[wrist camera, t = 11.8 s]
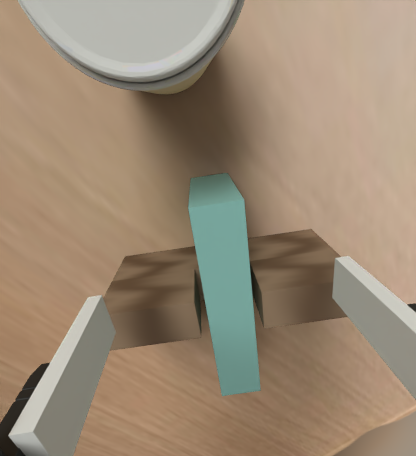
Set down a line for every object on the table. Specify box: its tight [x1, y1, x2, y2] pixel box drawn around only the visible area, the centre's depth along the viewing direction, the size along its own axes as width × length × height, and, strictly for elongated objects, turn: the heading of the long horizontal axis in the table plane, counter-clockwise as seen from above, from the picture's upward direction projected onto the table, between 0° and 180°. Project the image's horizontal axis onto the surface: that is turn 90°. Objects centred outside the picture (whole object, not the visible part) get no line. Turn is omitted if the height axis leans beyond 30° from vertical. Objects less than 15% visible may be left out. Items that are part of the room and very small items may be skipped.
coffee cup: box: [18, 0, 244, 94], centre depth 14 cm, size 9×9×12 cm
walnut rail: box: [103, 229, 348, 351], centre depth 23 cm, size 20×4×9 cm, turn 98°
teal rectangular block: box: [188, 173, 261, 396], centre depth 23 cm, size 4×18×9 cm, turn 8°
